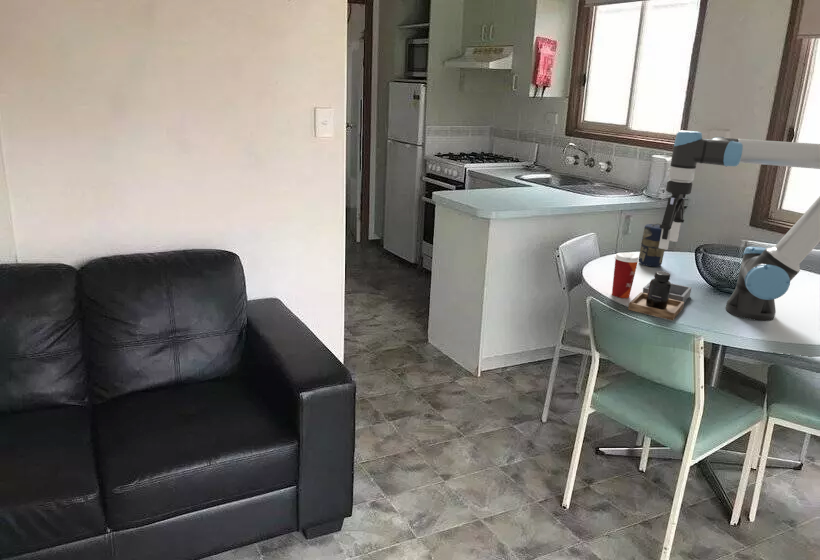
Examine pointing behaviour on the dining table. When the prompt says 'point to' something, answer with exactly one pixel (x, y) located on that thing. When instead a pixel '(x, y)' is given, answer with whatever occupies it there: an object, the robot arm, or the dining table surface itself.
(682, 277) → the dining table surface
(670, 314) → the tray
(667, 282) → the supplement bottle
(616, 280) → the coffee cup
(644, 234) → the canister
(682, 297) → the holder box
